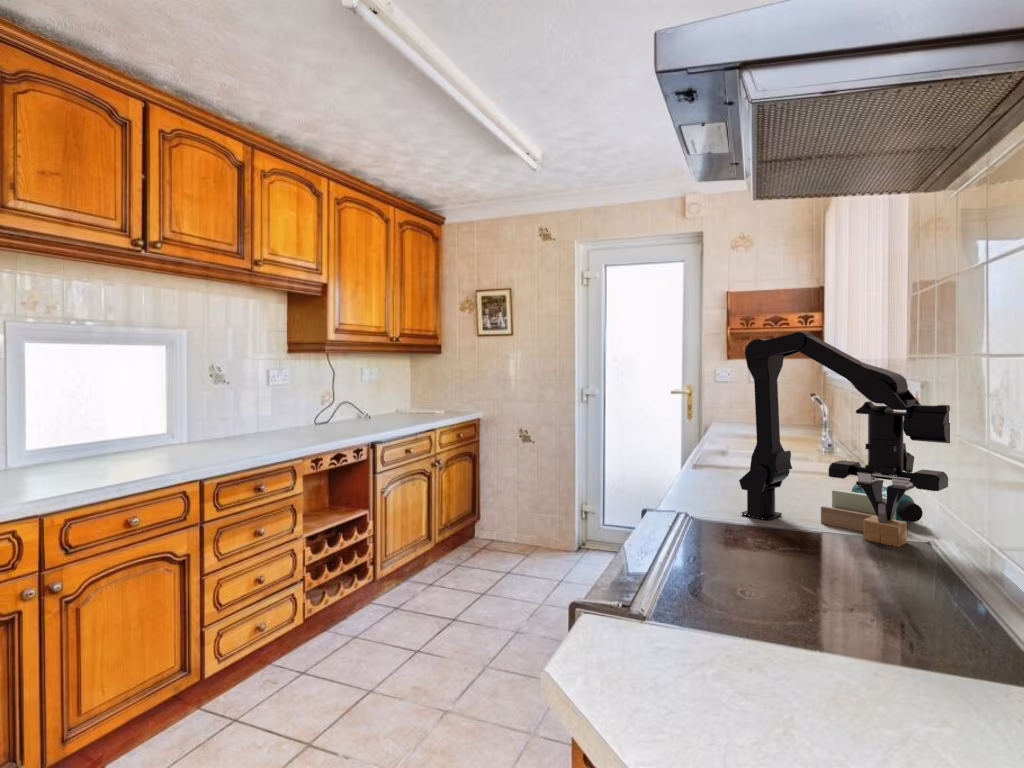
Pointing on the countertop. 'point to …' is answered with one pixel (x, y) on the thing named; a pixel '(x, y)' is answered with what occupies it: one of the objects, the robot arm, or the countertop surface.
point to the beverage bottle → (900, 506)
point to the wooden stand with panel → (849, 510)
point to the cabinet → (885, 528)
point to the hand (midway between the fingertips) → (885, 519)
